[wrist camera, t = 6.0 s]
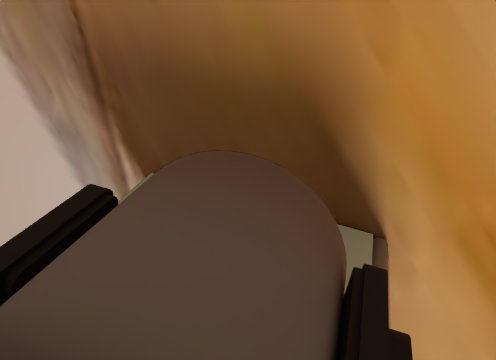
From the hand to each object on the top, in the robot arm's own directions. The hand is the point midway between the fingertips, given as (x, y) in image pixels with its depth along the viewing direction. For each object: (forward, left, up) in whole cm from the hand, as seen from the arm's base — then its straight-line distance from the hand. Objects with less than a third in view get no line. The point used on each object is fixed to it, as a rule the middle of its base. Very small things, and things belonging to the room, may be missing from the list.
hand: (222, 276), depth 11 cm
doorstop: (0, 0, -1) cm, 1 cm away
